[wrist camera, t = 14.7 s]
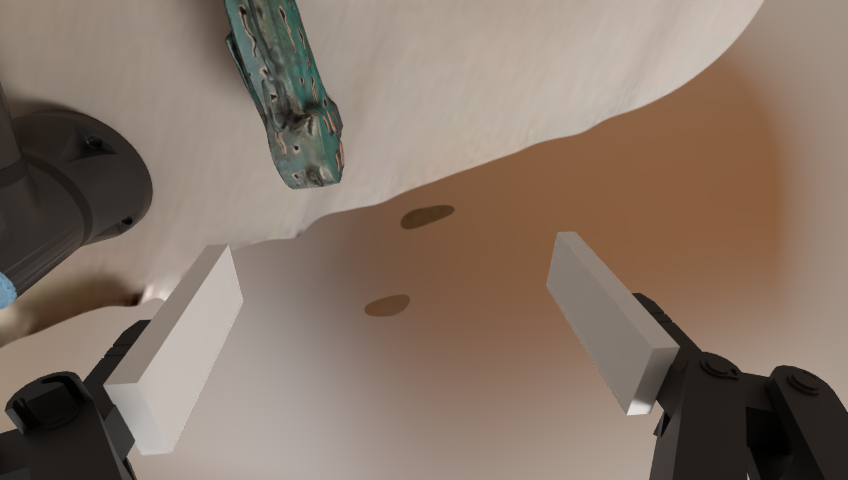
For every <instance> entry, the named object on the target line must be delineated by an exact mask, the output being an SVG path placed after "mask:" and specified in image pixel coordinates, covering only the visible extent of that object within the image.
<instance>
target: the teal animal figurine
mask: <svg viewBox="0 0 848 480" xmlns="http://www.w3.org/2000/svg"><path fill="white" fill-rule="evenodd" d="M224 4H225V8H226V13H227V16H228V19H229V23H230V26H231V31H230V34H229V35H228V36H227V37H226V39H225V42H226V44H227V46H228V48H229V50H230V53H231V55H232V57H233V59H234V61H235V63H236V65H237V67H238V70H239V72H240V74H241V77H242V79H243V81H244V84H245V86H246V88H247V89H248V91H249V93H250V95H251V97H252V99H253V100H254V103H255V105H256V108H257V110H258V112H259V114H260V116H261V118H262V121H263V123H264V126H265V129H266V132H267V137H268V143H269V148H270V152H271V156H272V159H273V161H274V164H275V166H276V168H277V170H278V172H279V174H280V176H281V177H282V179H283V180H284V182H285V183H286V184H287V185H288V187H290V188H292V189H304V188H316V187H324V186H329V185H332V184H336V183H340V180H341V177H342V170H343V168H344V154H343V147H342V143H341V141H340V137H341V131H342V127H343V124H342V121H341V118H340V114H339V111H338V108H337V105H336V104H335V103H333V102H330V101H329V99H328V97H327V94H326V91H325V89H324V86H323V84H322V81H321V78H320V75H319V73H318V70H317V67H316V63H315V60H314V57H313V54H312V51H311V48H310V45H309V42H308V39H307V36H306V33H305V30H304V26H303V23H302V20H301V17H300V13H299V10H298V7H297V5H296V2H295V0H224Z"/></svg>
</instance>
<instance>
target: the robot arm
mask: <svg viewBox="0 0 848 480" xmlns="http://www.w3.org/2000/svg"><path fill="white" fill-rule="evenodd" d="M152 194H153V190H152V182H151V178H150V175H149V172H148V170H147V167H146V165H145V164H144V162H143V160H142V159H141V157H140V156H139V154H138V153H137V152H136V150H135V149H134V148H133V147H132V146H131V145H130V144H129V143H128V142H127V141H126V140H125V139H124V138H123V137H122V136H121V135H119V134H118V133H117V132H115V131H114V130H112V129H111V128H109V127H108V126H106V125H105V124H103V123H101V122H99V121H97V120H95V119H92V118H90V117H88V116H85V115H82V114H78V113H74V112H70V111H63V110H45V111H39V112H35V113H31V114H28V115H24V116H21V117H18V118H15V119H12V116H11V113H10V110H9V107H8V104H7V101H6V98H5V95H4V91H3V88H2V85H1V82H0V310H1V309H4V308H6V307H8V306H9V305H10V304H12V303H13V301H14V300H15V299H17V298H18V297H19V296H20V295H22V294H23V293H24V292H25V291H27V290H28V289H29V288H30V287H31V286H33V285H34V284H35V283H36V282H38V281H39V280H40V279H41V278H43V277H44V276H45V275H46V274H47V273H49V272H50V271H51V270H52V269H54V268H55V267H56V266H57V265H59V264H60V263H61V262H62V261H63V260H65V259H66V258H67V257H68V256H70V255H71V254H72V253H73V252H74V251H76V250H77V249H78V248H80V247H81V246H85V245H88V244H92V243H95V242H99V241H102V240H106V239H109V238H113V237H116V236H118V235H121V234H122V233H124V232H126V231H128V230H129V229H131V228H132V227H133V226H134V225H135V224H136V223H138V222H139V221H140V220H141V219H142V218H143V217H144V216H145V214H146V213H147V211H148V209H149V207H150V205H151V201H152ZM546 287H547V288H548V290H549V291H550V293H551V295H552V296H553V298H554V300H555V301H556V303H557V304H558V306H559V308H560V309H561V311H562V312H563V314H564V316H565V317H566V319H567V320H568V322H569V324H570V325H571V327H572V328H573V330H574V332H575V333H576V335H577V337H578V338H579V340H580V341H581V343H582V345H583V346H584V347H585V349H586V351H587V353H588V354H589V356H590V357H591V359H592V361H593V362H594V364H595V366H596V367H597V369H598V370H599V372H600V374H601V375H602V377H603V378H604V380H605V382H606V383H607V385H608V386H609V388H610V390H611V391H612V393H613V394H614V396H615V398H616V399H617V401H618V403H619V404H620V406H621V407H622V409H623V411H624V412H625V414H626V415H635V414H647V413H650V412H651V410H652V408H653V406H654V403H655V401H656V400H657V401H658V402H659V404H660V405H661V407H662V408H663V409H664V412H663V414H662V416H661V418H660V421H659V423H658V425H657V427H656V429H655V431H654V433H653V434H654V435H656V436H657V440H656V446H655V451H654V457H653V462H652V467H651V473H650V478H649V480H747V473H748V476H749V479H750V480H848V412H847V411H846V409H845V407H844V406H843V404H842V403H841V401H840V400H839V398H838V396H837V395H836V393H835V392H834V391H833V389H831V387H830V386H829V385H828V384H827V383H826V382H824V381H823V380H822V379H820V378H819V377H817V376H816V375H814V374H812V373H810V372H808V371H806V370H803V369H800V368H797V367H794V366H786V365H782V366H777V367H776V368H775V369H774V370H773V371H772V373H771V375H770V376H769V377H765V376H760V375H754V374H749V373H743V372H741V371H740V370H739V369H738V367H737V366H736V365H734V364H733V363H731V362H730V361H728V360H727V359H725V358H723V357H721V356H719V355H716V354H713V353H709V352H702V351H701V350H700V349H699V348H698V347H697V346H696V345H695V343H693V341H692V340H690V338H689V337H688V336H687V335H686V334H685V333H684V332H683V331H682V330H681V329H680V328H679V327H678V326H677V325H676V324H675V323H673V322H672V320H671V319H670V318H669V317H668V316H667V315H666V314H664V311H663V310H662V309H661V308H660V307H659V306H658V305H657V304H656V303H655V302H654V301H652V300H650V299H649V298H647V297H646V296H644V295H642V294H641V293H630V292H629V290H628V289H627V288H626V287H625V286H624V285H623V284H622V283H621V282H620V281H619V280H618V278H617V277H616V276H615V275H614V274H613V273H612V272H611V271H610V270H609V269H608V267H607V266H606V265H605V264H604V263H603V262H602V261H601V260H600V259H599V258H598V257H597V255H596V254H595V253H594V252H593V251H592V250H591V249H590V248H589V247H588V245H587V244H586V243H585V242H584V241H583V240H582V239H581V238H580V237H579V236H578V234H577V233H576V232H557V237H556V241H555V246H554V251H553V256H552V261H551V266H550V270H549V275H548V280H547V285H546ZM242 303H243V298H242V294H241V290H240V286H239V282H238V279H237V276H236V271H235V267H234V264H233V260H232V256H231V252H230V248H229V245H228V244H223V245H207V246H206V248H205V249H204V250H203V252H202V253H201V255H200V256H199V257H198V259H197V260H196V261H195V263H194V264H193V265H192V267H191V268H190V269H189V271H188V272H187V274H186V275H185V276H184V277H183V279H182V280H181V281H180V283H179V284H178V285H177V287H176V288H175V289H174V291H173V292H172V293H171V295H170V296H169V297H168V299H167V300H166V301H165V303H164V304H163V305H162V307H161V308H160V310H159V311H158V312H157V314H156V315H155V316H154V317H153V319H152V320H139V321H138V322H136V323H135V324H134V325H132V326H131V327H129V328H128V329H127V330H125V331H124V332H123V333H122V334H121V335H120V337H119V338H118V339H117V340H116V342H115V343H114V344H113V347H111V348H110V349H109V350H108V351H107V353H106V354H105V356H104V358H102V359H101V360H100V361H99V363H98V364H97V365H96V366H95V368H94V369H93V370H92V372H91V373H90V374H89V375H88V376H87V377H86V379H85V380H84V381H83V382H82V381H81V379H80V377H79V376H78V375H77V374H76V373H73V372H68V371H65V372H57V373H52V374H49V375H46V376H43V377H40V378H38V379H36V380H34V381H33V382H31V383H29V384H27V385H25V386H24V387H23V388H21V389H20V390H19V391H17V392H16V393H15V394H14V395H13V396H12V397H11V399H10V400H9V401H8V402H7V405H6V409H5V412H6V414H7V415H8V416H9V417H10V419H11V420H12V421H13V423H14V424H15V425H16V427H17V429H14V430H11V431H7V432H4V433H1V434H0V480H137V479H136V476H135V474H134V471H133V469H132V466H131V464H130V462H129V460H128V458H127V457H126V456H127V455H128V453H129V451H130V449H131V448H132V446H133V444H134V442H135V444H136V446H137V447H138V449H139V451H140V453H141V455H152V454H164V453H172V451H173V449H174V447H175V445H176V443H177V441H178V438H179V437H180V434H181V432H182V430H183V428H184V426H185V424H186V422H187V420H188V417H189V415H190V413H191V411H192V409H193V407H194V405H195V403H196V401H197V398H198V396H199V394H200V392H201V390H202V388H203V386H204V384H205V381H206V379H207V377H208V375H209V373H210V371H211V369H212V367H213V365H214V363H215V360H216V358H217V356H218V354H219V352H220V350H221V348H222V346H223V343H224V341H225V339H226V337H227V335H228V333H229V331H230V329H231V327H232V324H233V322H234V320H235V318H236V316H237V314H238V312H239V310H240V308H241V305H242Z"/></svg>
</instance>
